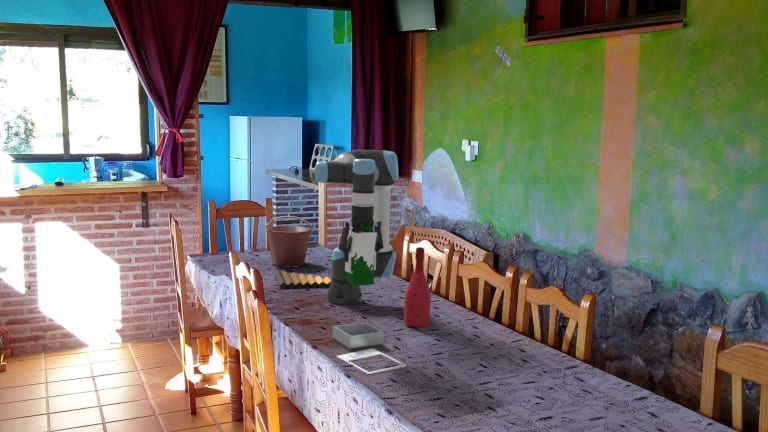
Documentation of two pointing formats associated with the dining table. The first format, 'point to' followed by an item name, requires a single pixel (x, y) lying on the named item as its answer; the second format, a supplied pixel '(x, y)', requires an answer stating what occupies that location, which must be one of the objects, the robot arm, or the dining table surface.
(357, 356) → the photo frame
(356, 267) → the soya milk
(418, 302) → the wine bottle
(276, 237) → the bucket
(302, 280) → the pan flute
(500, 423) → the dining table surface
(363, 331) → the collar
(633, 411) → the dining table surface
